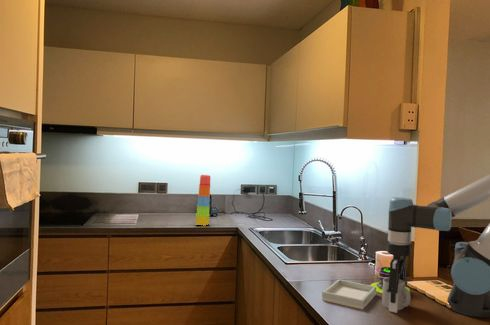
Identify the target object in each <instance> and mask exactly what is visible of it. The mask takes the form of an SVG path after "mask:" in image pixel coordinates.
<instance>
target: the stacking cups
mask: <svg viewBox="0 0 490 325" xmlns="http://www.w3.org/2000/svg"><path fill="white" fill-rule="evenodd" d="M198 186H199V187H198V194H197V196H198V197H197V204H196V213H195V217H196V218H195V224H198V225H208V224H210V216H211V214H210V207H211V204H210V203H211V175H210V174H209V175H208V174H201V175H200V177H199V184H198Z"/></svg>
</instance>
